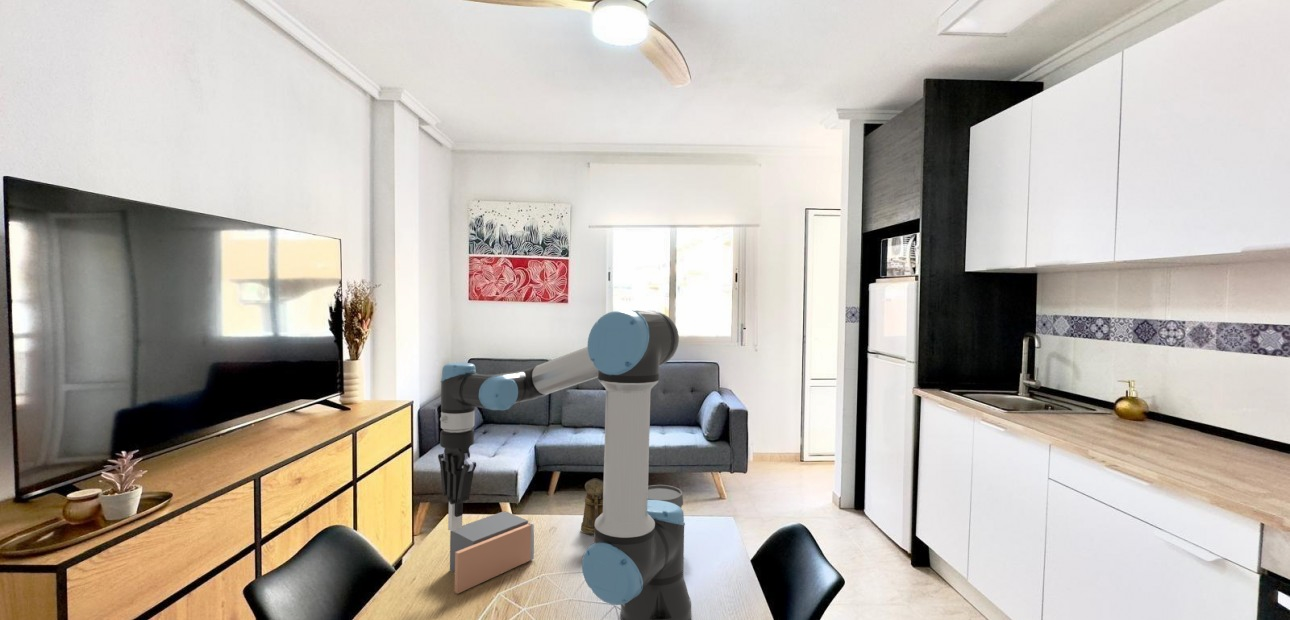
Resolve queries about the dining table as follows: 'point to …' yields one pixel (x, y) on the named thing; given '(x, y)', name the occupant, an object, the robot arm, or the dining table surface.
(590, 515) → the bronze figurine
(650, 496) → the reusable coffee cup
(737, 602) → the dining table surface
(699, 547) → the dining table surface
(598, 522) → the robot arm
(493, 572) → the side door
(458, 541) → the case
